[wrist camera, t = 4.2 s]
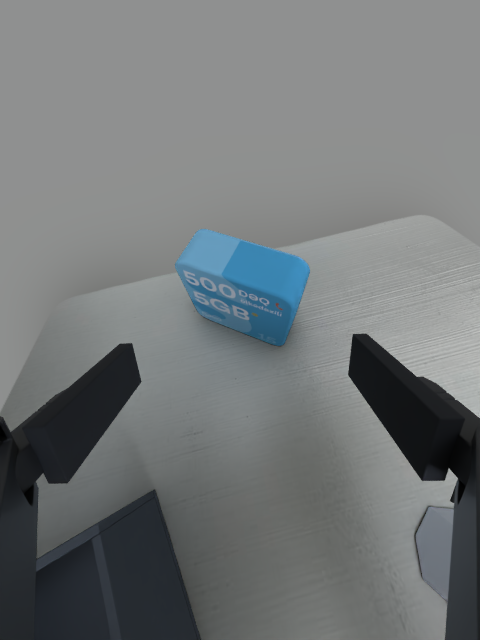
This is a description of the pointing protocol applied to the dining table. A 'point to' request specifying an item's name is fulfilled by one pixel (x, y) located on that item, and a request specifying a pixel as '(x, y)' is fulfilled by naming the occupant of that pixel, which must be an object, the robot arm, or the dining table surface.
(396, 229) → the dining table surface
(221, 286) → the data package
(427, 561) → the flask
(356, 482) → the dining table surface
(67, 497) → the dining table surface
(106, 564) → the dark grey open box
